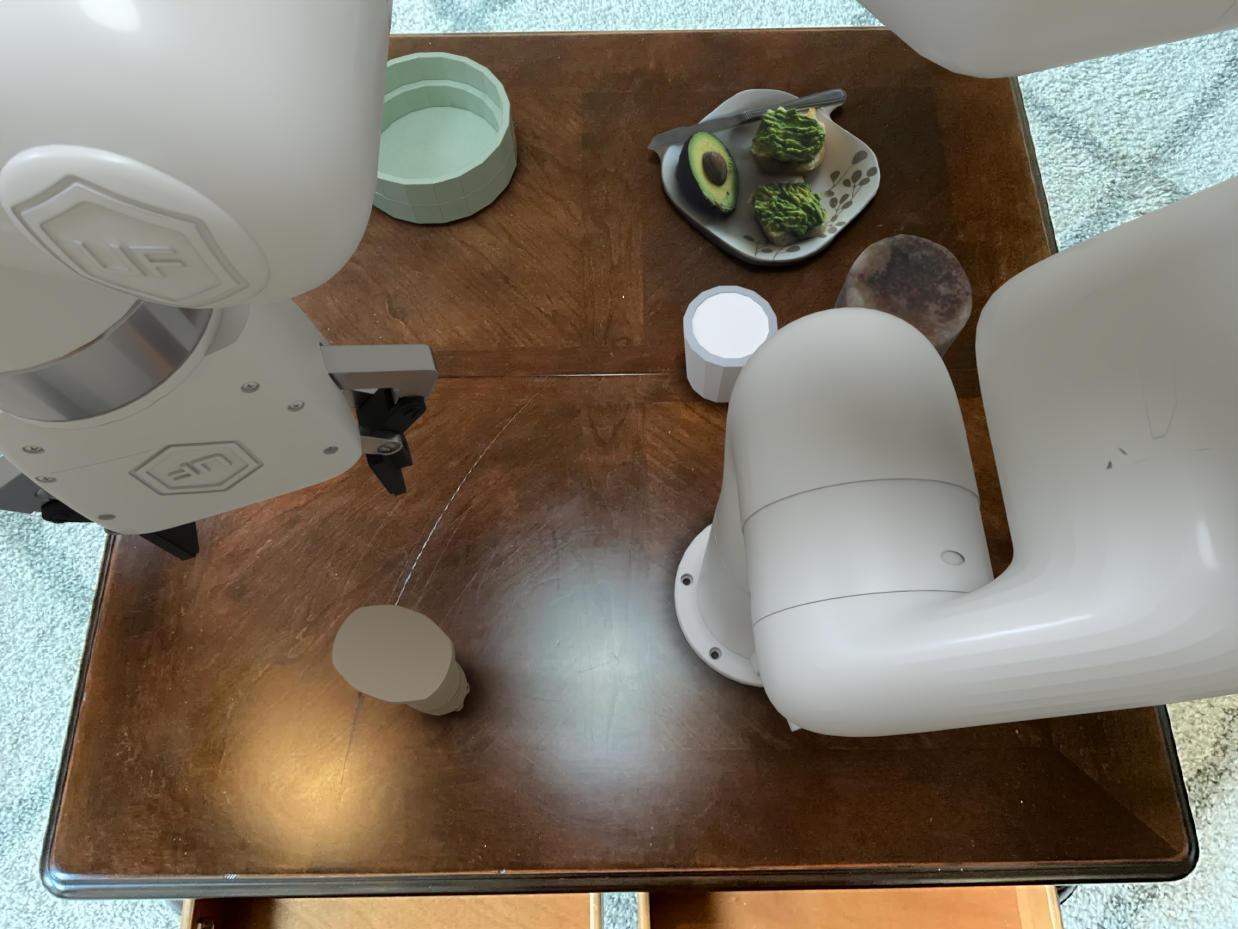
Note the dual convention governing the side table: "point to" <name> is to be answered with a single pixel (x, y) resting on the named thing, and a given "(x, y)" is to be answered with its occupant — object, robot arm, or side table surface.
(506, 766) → the side table surface
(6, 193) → the robot arm
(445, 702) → the handle
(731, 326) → the white short cylinder
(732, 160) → the avocado toast plate
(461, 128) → the bowl
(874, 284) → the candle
